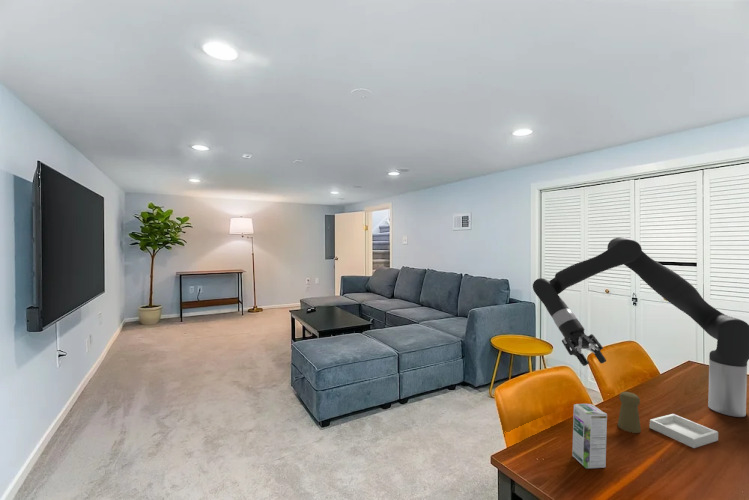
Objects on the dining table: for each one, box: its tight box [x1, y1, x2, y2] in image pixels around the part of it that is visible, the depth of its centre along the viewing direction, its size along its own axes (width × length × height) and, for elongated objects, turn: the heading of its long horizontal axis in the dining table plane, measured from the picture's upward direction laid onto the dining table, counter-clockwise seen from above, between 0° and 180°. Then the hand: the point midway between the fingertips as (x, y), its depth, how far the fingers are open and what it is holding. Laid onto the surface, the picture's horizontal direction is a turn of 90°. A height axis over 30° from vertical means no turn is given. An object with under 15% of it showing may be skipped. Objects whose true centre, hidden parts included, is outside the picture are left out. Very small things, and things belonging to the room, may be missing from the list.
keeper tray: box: [649, 413, 719, 449], centre depth 105 cm, size 12×12×3 cm
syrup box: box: [571, 403, 608, 469], centre depth 92 cm, size 6×6×14 cm
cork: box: [617, 391, 642, 434], centre depth 109 cm, size 6×6×11 cm
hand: (595, 363), depth 120 cm, fingers open, 8 cm apart
